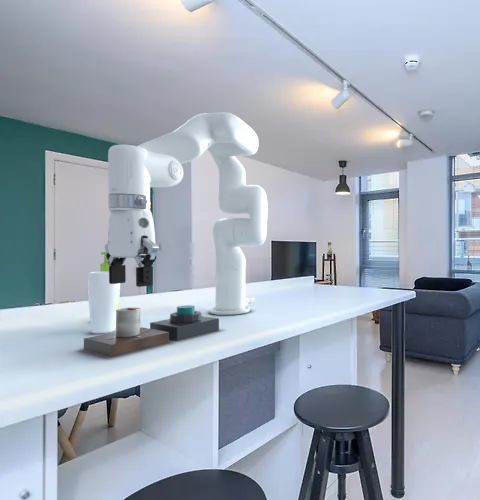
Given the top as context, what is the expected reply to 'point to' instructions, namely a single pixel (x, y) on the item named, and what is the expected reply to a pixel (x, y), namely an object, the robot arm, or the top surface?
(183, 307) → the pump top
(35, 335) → the top surface
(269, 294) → the top surface
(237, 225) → the robot arm
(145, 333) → the panel
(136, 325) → the lock knob
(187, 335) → the button base
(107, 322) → the white lotion bottle
